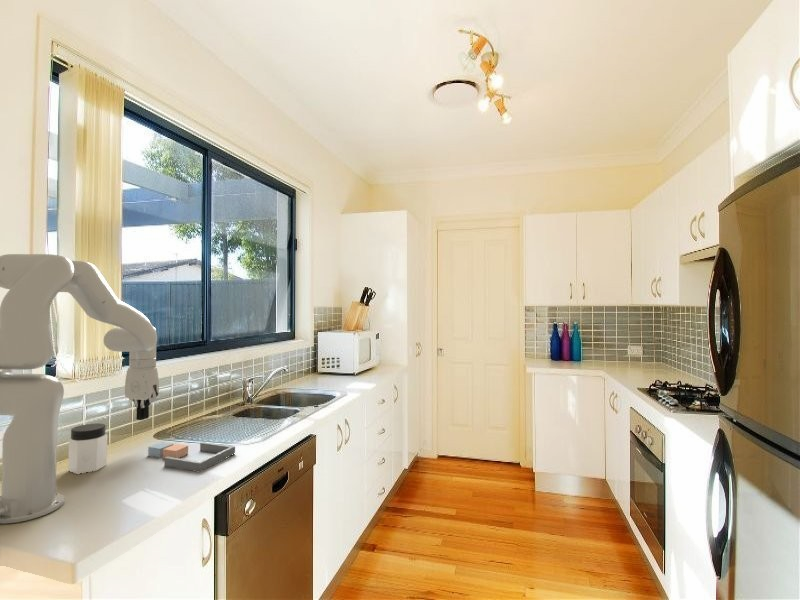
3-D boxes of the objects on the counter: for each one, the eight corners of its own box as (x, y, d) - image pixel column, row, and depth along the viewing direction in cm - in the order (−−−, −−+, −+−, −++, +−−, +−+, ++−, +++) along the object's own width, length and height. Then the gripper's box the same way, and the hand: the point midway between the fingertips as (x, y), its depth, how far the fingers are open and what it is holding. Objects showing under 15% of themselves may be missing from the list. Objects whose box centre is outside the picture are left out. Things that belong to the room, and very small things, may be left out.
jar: (66, 476, 115) (67, 433, 115) (69, 466, 122) (70, 426, 122) (105, 469, 120) (106, 428, 120) (107, 460, 127) (107, 421, 127)
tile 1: (159, 458, 130) (160, 448, 130) (148, 456, 132) (148, 446, 132) (173, 453, 135) (173, 443, 135) (161, 451, 136) (162, 441, 136)
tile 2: (176, 460, 128) (176, 450, 128) (162, 458, 129) (163, 449, 130) (188, 454, 133) (188, 445, 133) (175, 453, 134) (175, 444, 134)
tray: (199, 472, 119) (199, 463, 119) (164, 466, 123) (164, 457, 123) (234, 454, 134) (235, 446, 134) (202, 449, 137) (202, 442, 137)
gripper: (115, 364, 135) (114, 419, 135) (150, 366, 130) (150, 424, 131) (135, 360, 142) (135, 413, 142) (170, 363, 137) (169, 418, 138)
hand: (142, 418), depth 136 cm, fingers closed
